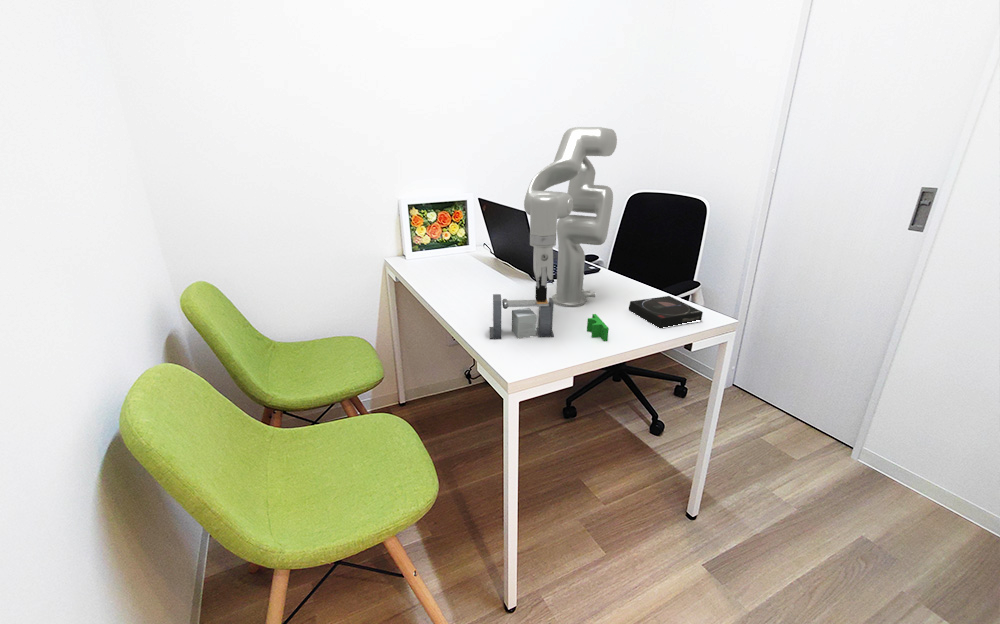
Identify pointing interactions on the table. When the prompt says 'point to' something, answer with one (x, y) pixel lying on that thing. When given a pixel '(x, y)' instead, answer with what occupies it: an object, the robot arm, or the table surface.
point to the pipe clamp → (597, 327)
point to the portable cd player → (665, 311)
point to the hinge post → (496, 318)
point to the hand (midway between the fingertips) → (540, 299)
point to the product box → (523, 322)
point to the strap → (524, 303)
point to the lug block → (545, 320)
